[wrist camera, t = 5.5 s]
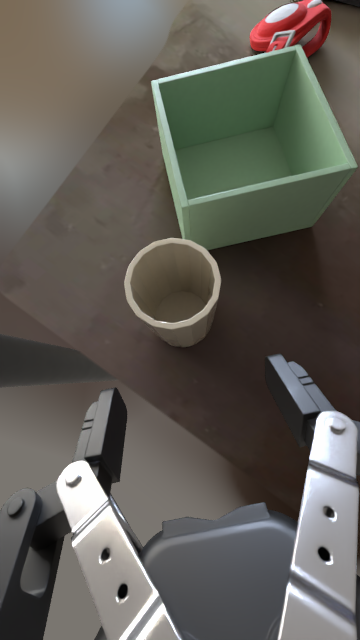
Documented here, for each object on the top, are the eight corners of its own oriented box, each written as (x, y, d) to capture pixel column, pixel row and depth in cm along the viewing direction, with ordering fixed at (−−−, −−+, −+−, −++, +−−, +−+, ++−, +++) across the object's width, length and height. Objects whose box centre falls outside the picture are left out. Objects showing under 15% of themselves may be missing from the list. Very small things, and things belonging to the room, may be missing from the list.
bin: (186, 255, 27) (181, 207, 19) (163, 155, 30) (150, 80, 22) (312, 226, 26) (358, 166, 19) (274, 128, 30) (300, 43, 22)
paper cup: (158, 352, 25) (132, 338, 15) (148, 296, 26) (118, 249, 16) (218, 340, 24) (231, 316, 15) (204, 284, 26) (208, 229, 16)
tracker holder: (239, 19, 33) (319, -27, 30) (243, 61, 37) (314, 24, 34) (262, 53, 27) (361, 1, 25) (263, 99, 31) (350, 58, 28)
